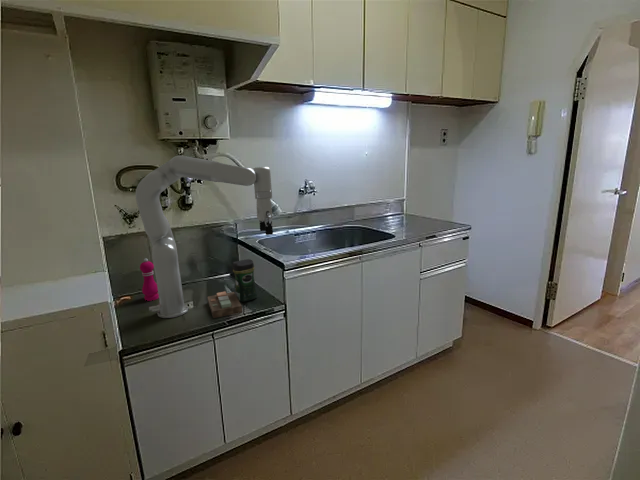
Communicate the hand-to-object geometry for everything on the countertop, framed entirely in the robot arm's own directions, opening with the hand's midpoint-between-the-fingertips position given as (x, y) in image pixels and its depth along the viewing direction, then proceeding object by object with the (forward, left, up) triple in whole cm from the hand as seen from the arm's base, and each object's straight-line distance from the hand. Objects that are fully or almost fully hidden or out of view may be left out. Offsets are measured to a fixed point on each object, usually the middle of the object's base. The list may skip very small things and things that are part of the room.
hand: (266, 232), depth 170 cm
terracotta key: (-23, +1, -29) cm, 36 cm away
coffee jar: (-12, +1, -30) cm, 32 cm away
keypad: (-23, -5, -30) cm, 38 cm away
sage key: (-22, -10, -28) cm, 38 cm away
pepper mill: (-53, +23, -30) cm, 65 cm away
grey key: (-23, -5, -28) cm, 37 cm away
